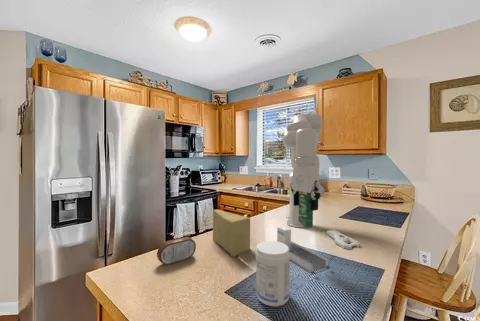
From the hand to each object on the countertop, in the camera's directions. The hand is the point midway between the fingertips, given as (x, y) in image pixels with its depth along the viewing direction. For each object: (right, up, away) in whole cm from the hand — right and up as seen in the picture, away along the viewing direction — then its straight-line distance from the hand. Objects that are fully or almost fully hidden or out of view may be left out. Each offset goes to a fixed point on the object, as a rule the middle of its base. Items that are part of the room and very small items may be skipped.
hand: (305, 207), depth 83 cm
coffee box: (0, -7, 0) cm, 7 cm away
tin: (-49, -21, +2) cm, 54 cm away
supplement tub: (-15, -22, -20) cm, 33 cm away
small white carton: (-6, -20, +11) cm, 24 cm away
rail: (-2, -21, +4) cm, 22 cm away
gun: (+24, -22, +22) cm, 40 cm away
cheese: (-31, -21, +16) cm, 41 cm away
